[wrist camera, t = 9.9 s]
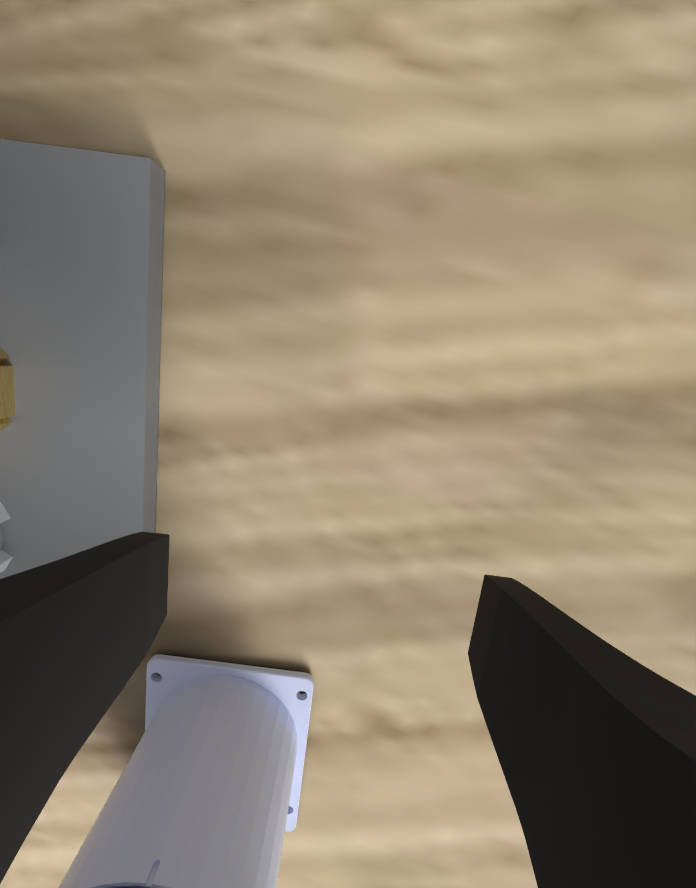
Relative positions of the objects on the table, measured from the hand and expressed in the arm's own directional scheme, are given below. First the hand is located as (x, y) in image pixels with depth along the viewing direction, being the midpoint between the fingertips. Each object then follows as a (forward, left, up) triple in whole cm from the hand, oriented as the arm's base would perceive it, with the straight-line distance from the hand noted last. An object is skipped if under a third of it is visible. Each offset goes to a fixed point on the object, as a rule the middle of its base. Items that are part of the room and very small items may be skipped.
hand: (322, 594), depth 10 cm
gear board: (+2, +16, -9) cm, 19 cm away
